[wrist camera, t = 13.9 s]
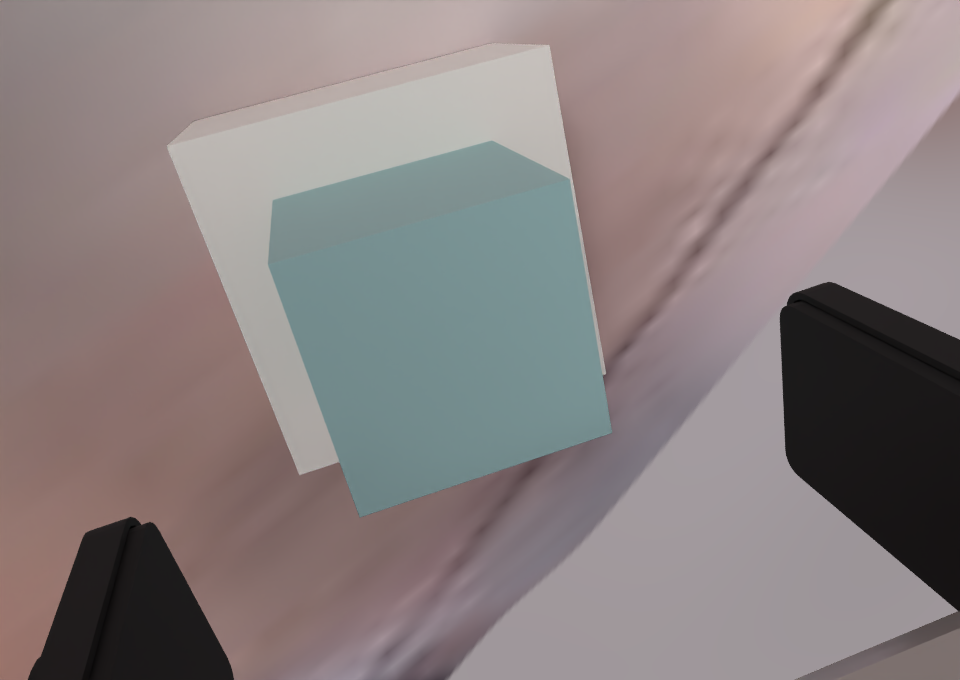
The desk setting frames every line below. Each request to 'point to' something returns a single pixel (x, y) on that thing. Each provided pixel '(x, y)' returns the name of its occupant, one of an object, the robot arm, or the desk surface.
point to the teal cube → (441, 319)
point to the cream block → (345, 155)
